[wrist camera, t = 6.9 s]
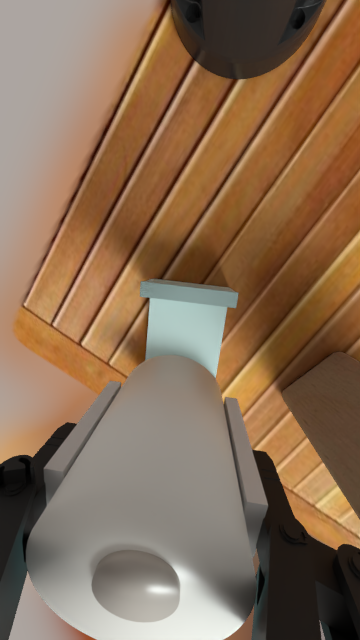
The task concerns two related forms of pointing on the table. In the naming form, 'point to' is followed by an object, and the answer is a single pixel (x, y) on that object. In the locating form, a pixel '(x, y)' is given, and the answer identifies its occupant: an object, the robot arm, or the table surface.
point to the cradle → (187, 320)
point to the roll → (150, 517)
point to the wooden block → (332, 418)
